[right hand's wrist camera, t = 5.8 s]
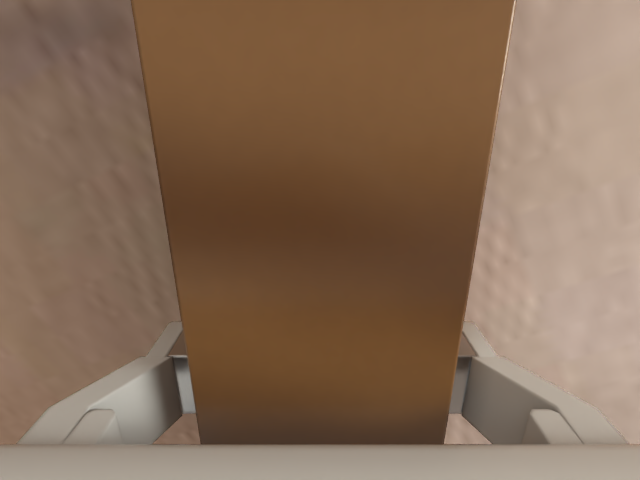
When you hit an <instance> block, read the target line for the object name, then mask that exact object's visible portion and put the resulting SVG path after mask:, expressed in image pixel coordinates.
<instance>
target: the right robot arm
mask: <svg viewBox="0 0 640 480" xmlns="http://www.w3.org/2000/svg"><path fill="white" fill-rule="evenodd" d="M189 413H196V410H195V404H194V398H193V391H192V385H191V379H190V372H189V366H188V360H187V353H186V347H185V341H184V334H183V328H182V322H181V321H173V322H170V323H169V324H168V325H167V326H166V328H165V329H164V331H163V332H162V334H161V335H160V337H159V338H158V340H157V341H156V342H155V344H154V345H153V347H152V348H151V350H150V351H149V353H148V354H147V356H146V357H139V358H137V359H135V360H133V361H132V362H130V363H128V364H126V365H124V366H123V367H121V368H119V369H117V370H115V371H113V372H112V373H110V374H108V375H106V376H104V377H103V378H101V379H99V380H97V381H95V382H94V383H92V384H90V385H88V386H86V387H85V388H83V389H81V390H79V391H77V392H76V393H74V394H72V395H70V396H68V397H66V398H65V399H63V400H61V401H59V402H57V403H56V404H54V405H52V406H50V407H48V409H47V410H46V411H45V412H44V413H43V414H42V415H41V416H40V418H39V419H38V420H37V421H36V422H35V423H34V424H33V425H32V427H31V428H30V429H29V430H28V431H27V432H26V433H25V434H24V436H23V437H22V438H21V439H20V440H19V441H18V442H17V443H16V444H0V480H640V444H629V443H628V441H627V440H626V439H625V438H624V437H623V436H622V435H621V434H620V433H619V431H618V430H617V429H616V428H615V427H614V426H613V425H612V424H611V423H610V422H609V420H608V419H607V418H606V417H605V416H604V415H603V414H602V413H601V412H600V410H599V409H598V408H596V407H595V406H593V405H591V404H589V403H587V402H585V401H584V400H582V399H580V398H578V397H576V396H575V395H573V394H571V393H569V392H567V391H565V390H564V389H562V388H560V387H558V386H556V385H555V384H553V383H551V382H549V381H547V380H545V379H544V378H542V377H540V376H538V375H536V374H534V373H533V372H531V371H529V370H527V369H525V368H524V367H522V366H520V365H518V364H516V363H514V362H513V361H511V360H509V359H507V358H505V357H498V355H497V354H496V353H495V351H494V350H493V348H492V347H491V346H490V344H489V343H488V341H487V340H486V339H485V337H484V336H483V334H482V333H481V332H480V330H479V329H478V327H477V326H476V324H475V323H474V322H472V321H464V323H463V329H462V335H461V341H460V347H459V353H458V360H457V366H456V372H455V378H454V384H453V390H452V396H451V402H450V408H449V413H454V414H462V416H463V417H464V418H465V419H466V420H467V421H468V422H469V423H471V424H472V425H473V426H474V427H475V428H476V429H477V430H478V431H479V432H480V433H481V434H482V435H483V436H484V437H485V438H487V439H488V440H489V441H490V442H491V443H492V444H152V443H153V442H154V441H156V440H157V439H158V438H159V437H160V436H161V435H162V434H163V433H164V432H165V431H166V430H167V429H168V428H169V427H170V426H171V425H173V424H174V423H175V422H176V421H177V420H178V419H179V418H180V417H181V416H182V414H189Z"/></svg>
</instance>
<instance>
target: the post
mask: <svg viewBox="0 0 640 480" xmlns="http://www.w3.org/2000/svg"><path fill="white" fill-rule="evenodd" d="M516 1H517V0H131V5H132V11H133V17H134V24H135V30H136V36H137V43H138V49H139V55H140V62H141V68H142V74H143V81H144V87H145V93H146V100H147V106H148V112H149V119H150V125H151V131H152V138H153V144H154V150H155V157H156V163H157V169H158V176H159V182H160V188H161V195H162V201H163V207H164V214H165V220H166V226H167V233H168V239H169V245H170V252H171V258H172V265H173V271H174V277H175V284H176V290H177V296H178V303H179V309H180V315H181V322H182V328H183V334H184V341H185V347H186V353H187V360H188V366H189V372H190V379H191V385H192V391H193V398H194V404H195V410H196V417H197V423H198V429H199V436H200V442H201V444H444V439H445V433H446V426H447V420H448V414H449V408H450V402H451V396H452V390H453V384H454V378H455V372H456V366H457V360H458V353H459V347H460V341H461V335H462V329H463V323H464V317H465V311H466V305H467V299H468V293H469V287H470V281H471V274H472V268H473V262H474V256H475V250H476V244H477V238H478V232H479V226H480V220H481V214H482V208H483V201H484V195H485V189H486V183H487V177H488V171H489V165H490V159H491V153H492V147H493V141H494V135H495V128H496V122H497V116H498V110H499V104H500V98H501V92H502V86H503V80H504V74H505V68H506V62H507V56H508V49H509V43H510V37H511V31H512V25H513V19H514V13H515V7H516Z"/></svg>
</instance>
